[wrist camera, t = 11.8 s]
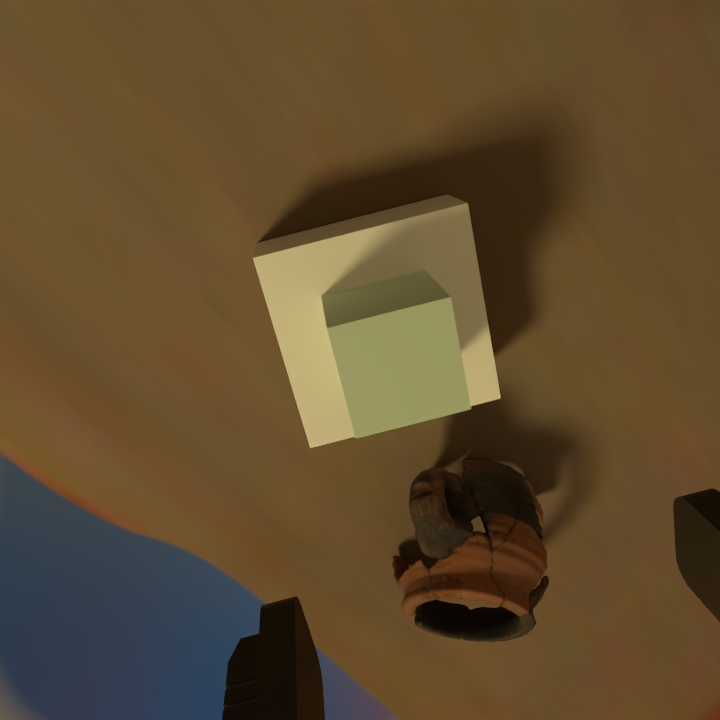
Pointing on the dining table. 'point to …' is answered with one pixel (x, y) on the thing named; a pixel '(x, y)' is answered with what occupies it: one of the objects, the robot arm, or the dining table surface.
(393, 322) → the cube
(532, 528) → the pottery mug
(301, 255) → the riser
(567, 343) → the dining table surface
